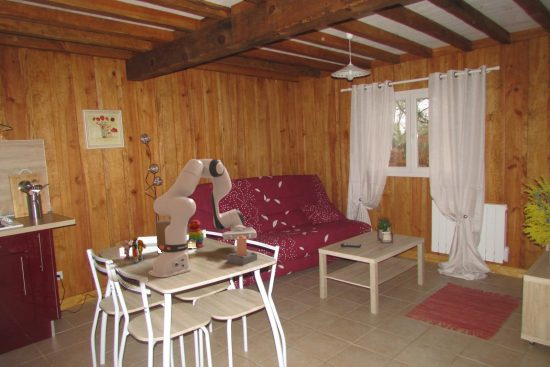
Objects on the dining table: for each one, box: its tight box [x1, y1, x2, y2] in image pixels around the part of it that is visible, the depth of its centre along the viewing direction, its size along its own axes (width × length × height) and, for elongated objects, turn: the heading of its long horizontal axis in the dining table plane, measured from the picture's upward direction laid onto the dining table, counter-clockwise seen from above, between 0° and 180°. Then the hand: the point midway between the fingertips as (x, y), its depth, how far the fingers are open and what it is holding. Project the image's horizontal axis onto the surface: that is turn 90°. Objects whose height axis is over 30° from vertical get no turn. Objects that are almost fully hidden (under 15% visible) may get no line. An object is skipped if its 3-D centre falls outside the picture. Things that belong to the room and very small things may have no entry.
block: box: [155, 218, 171, 252], centre depth 245 cm, size 10×10×20 cm
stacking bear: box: [188, 219, 204, 249], centre depth 256 cm, size 11×10×18 cm
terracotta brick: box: [236, 236, 248, 256], centre depth 222 cm, size 5×5×11 cm
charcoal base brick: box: [226, 251, 258, 266], centre depth 223 cm, size 12×12×5 cm
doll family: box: [121, 236, 147, 265], centre depth 230 cm, size 21×10×13 cm, turn 42°
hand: (240, 238), depth 230 cm, fingers open, 8 cm apart
